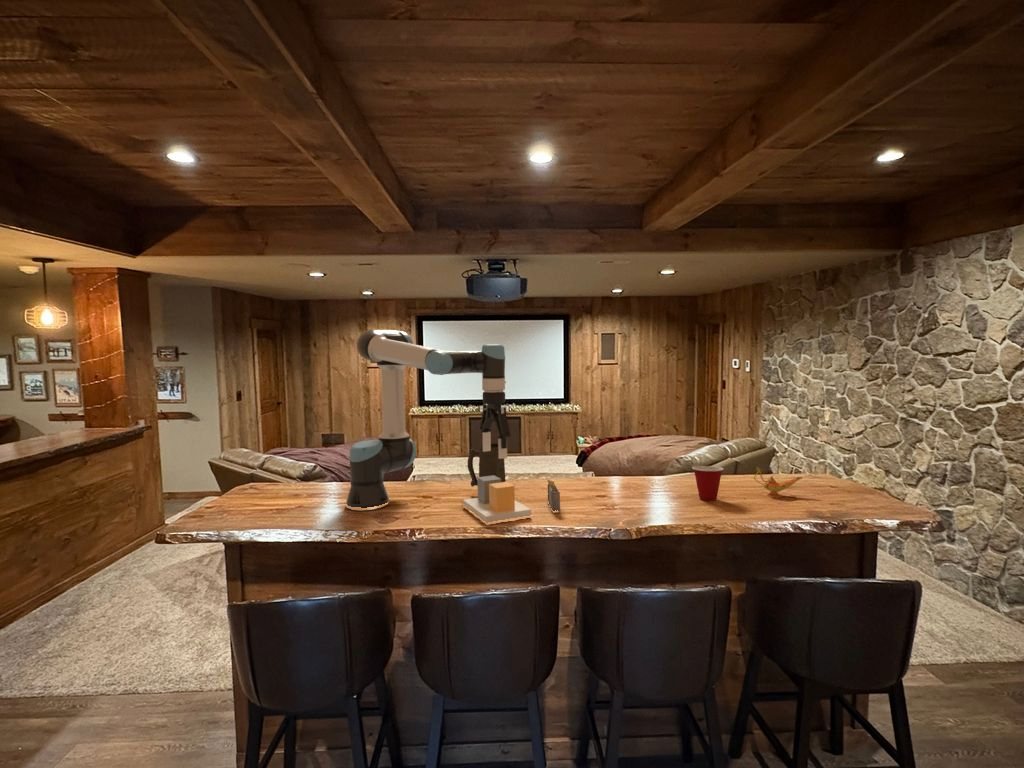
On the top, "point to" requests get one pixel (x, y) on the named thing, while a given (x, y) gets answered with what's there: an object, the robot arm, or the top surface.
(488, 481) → the assembly base with peg
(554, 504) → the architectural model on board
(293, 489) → the top surface
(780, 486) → the magic lamp
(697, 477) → the plastic cup
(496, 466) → the beer stein
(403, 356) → the robot arm
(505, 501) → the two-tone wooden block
